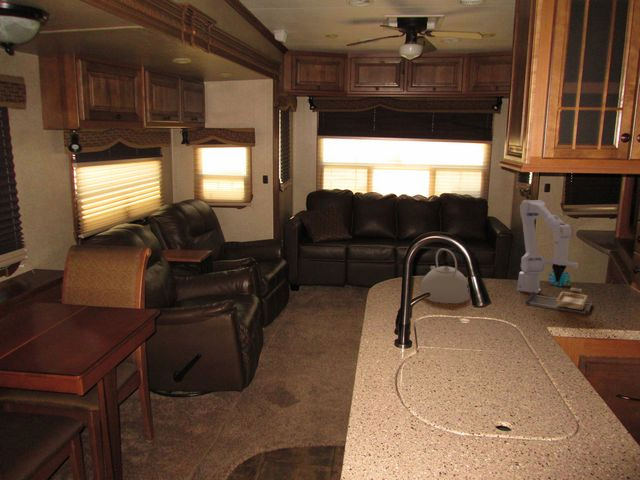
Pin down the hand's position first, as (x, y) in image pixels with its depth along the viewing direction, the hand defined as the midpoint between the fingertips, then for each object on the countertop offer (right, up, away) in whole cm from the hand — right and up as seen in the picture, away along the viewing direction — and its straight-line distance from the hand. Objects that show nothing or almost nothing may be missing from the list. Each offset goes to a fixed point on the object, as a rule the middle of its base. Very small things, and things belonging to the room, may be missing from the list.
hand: (557, 281), depth 230 cm
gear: (+15, -5, +31) cm, 34 cm away
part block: (+11, -9, +8) cm, 16 cm away
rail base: (+1, -11, +1) cm, 11 cm away
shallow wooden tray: (+5, -10, -2) cm, 11 cm away
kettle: (-48, -8, +14) cm, 51 cm away
